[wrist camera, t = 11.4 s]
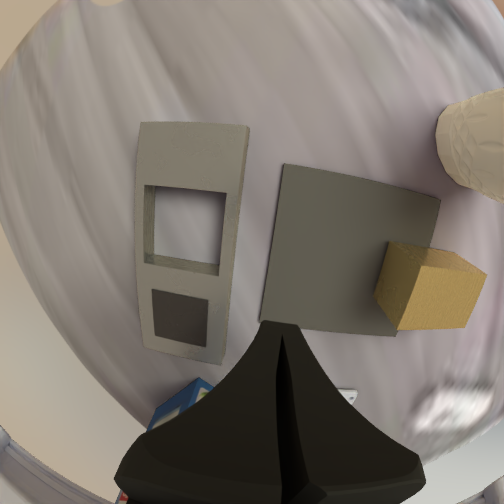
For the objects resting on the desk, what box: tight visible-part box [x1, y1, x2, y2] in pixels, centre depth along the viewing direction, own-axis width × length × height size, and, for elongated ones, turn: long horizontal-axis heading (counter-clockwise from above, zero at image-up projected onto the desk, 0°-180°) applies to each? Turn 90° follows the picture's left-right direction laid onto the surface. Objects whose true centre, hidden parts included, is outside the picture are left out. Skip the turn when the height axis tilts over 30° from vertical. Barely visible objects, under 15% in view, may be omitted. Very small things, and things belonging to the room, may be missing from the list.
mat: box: [259, 163, 441, 337], centre depth 19 cm, size 12×12×1 cm
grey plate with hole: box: [135, 122, 250, 365], centre depth 19 cm, size 18×7×2 cm, turn 173°
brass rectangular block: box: [373, 241, 487, 330], centre depth 16 cm, size 4×4×7 cm
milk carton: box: [115, 378, 214, 504], centre depth 17 cm, size 10×6×20 cm, turn 139°
